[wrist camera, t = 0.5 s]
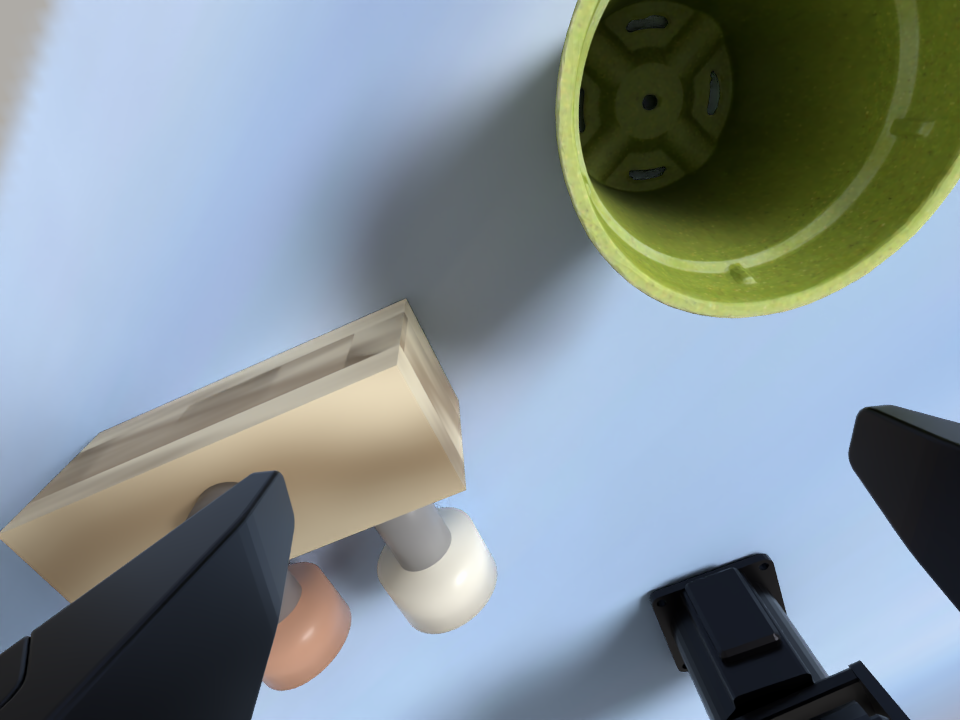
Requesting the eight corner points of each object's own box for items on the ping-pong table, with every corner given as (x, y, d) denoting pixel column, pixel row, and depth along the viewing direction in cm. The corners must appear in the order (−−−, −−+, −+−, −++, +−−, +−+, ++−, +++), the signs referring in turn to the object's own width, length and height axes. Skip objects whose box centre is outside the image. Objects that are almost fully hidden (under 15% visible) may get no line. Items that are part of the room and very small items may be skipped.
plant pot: (524, 257, 21) (577, 348, 13) (488, -38, 17) (534, -155, 9) (765, 215, 21) (959, 282, 13) (785, -89, 17) (1080, -248, 9)
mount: (458, 400, 24) (467, 510, 17) (174, 517, 25) (87, 658, 19) (405, 298, 21) (394, 380, 15) (99, 432, 23) (-28, 559, 17)
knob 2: (491, 532, 26) (502, 611, 22) (406, 565, 26) (401, 648, 22) (426, 414, 23) (425, 480, 19) (331, 453, 23) (310, 526, 19)
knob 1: (356, 584, 26) (343, 670, 22) (275, 615, 27) (248, 705, 23) (276, 476, 24) (245, 552, 20) (187, 513, 24) (138, 594, 20)
